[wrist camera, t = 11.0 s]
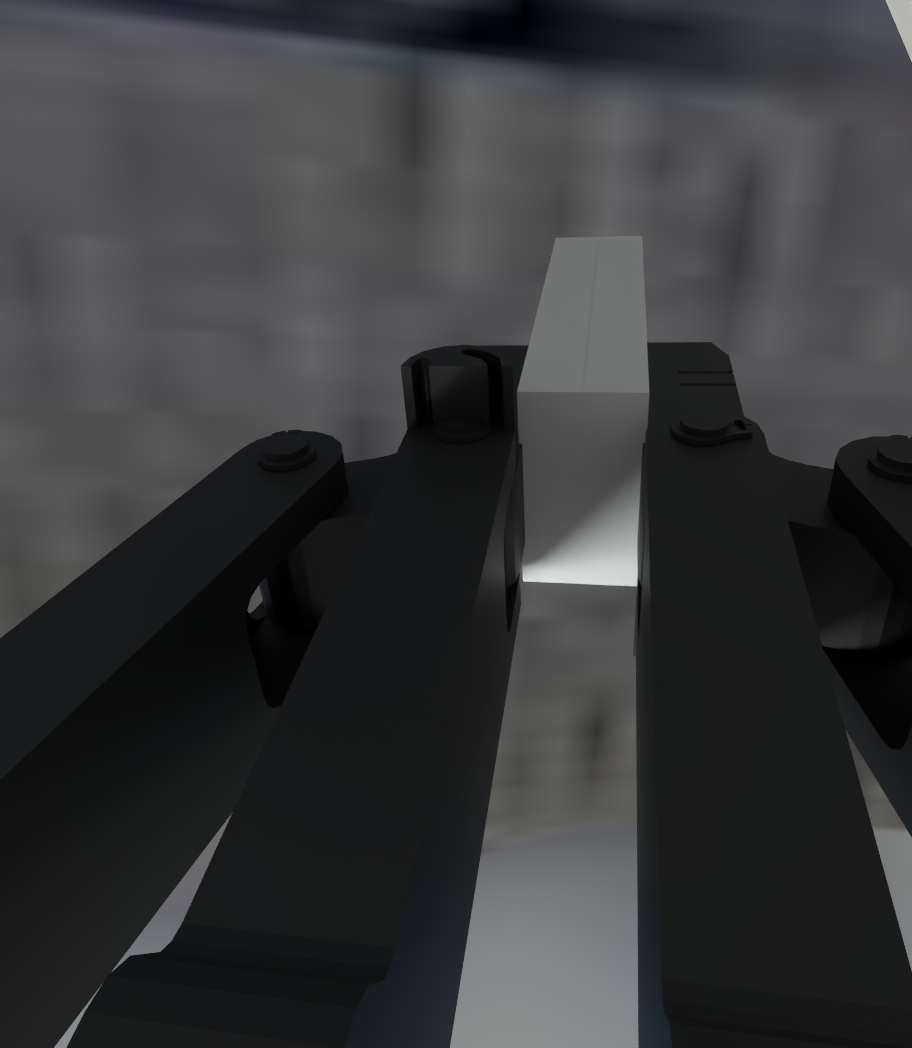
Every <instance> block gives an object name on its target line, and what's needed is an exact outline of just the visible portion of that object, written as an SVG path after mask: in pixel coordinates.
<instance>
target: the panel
mask: <svg viewBox="0 0 912 1048" xmlns="http://www.w3.org/2000/svg"><path fill="white" fill-rule="evenodd" d="M886 2H887V5H888V7H889V10H890V12H891V14H892V17H893V19H894V21H895V24H896V26H897V28H898V31H899V33H900V35H901V38H902V40H903V42H904V45H905V47H906V50H907V52H908V54H909V57H910V59H911V61H912V0H886Z"/></svg>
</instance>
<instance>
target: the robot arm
mask: <svg viewBox="0 0 912 1048" xmlns="http://www.w3.org/2000/svg"><path fill="white" fill-rule="evenodd" d="M401 373H402V382H403V391H404V400H405V410H406V419H407V428H408V429H407V432H406V434H405V436H404V438H403V440H402V443H401V445H400V447H399V449H398V451H397V453H395V454H392V455H389V456H384V457H379V458H375V459H369V460H362V461H355V462H348V463H344V458H343V452H342V446H341V443H340V442H339V441H337V440H336V439H335V438H334V437H332V436H330V435H326V434H323V433H319V432H310V431H301V430H288V432H286V431H281V432H276V433H273V434H272V435H271V436H268V437H265V438H262V439H259V440H256V441H254V442H253V443H251V444H249V445H247V446H246V447H244V448H242V449H241V450H239V451H238V452H237V453H236V454H234V455H233V456H232V457H231V458H229V459H228V460H227V461H225V462H224V463H223V464H222V465H220V466H219V467H218V468H217V469H215V470H214V471H213V472H211V473H210V474H209V475H208V476H206V477H205V478H204V479H203V480H201V481H200V482H199V483H197V484H196V485H195V486H194V487H192V488H191V489H190V490H189V491H187V492H186V493H185V494H183V495H182V496H181V497H180V498H178V499H177V500H176V501H175V502H173V503H172V504H171V505H169V506H168V507H167V508H166V509H164V510H163V511H162V512H161V513H159V514H158V515H157V516H155V517H154V518H153V519H152V520H150V521H149V522H148V523H147V524H145V525H144V526H143V527H141V528H140V529H139V530H138V531H136V532H135V533H134V534H133V535H131V536H130V537H129V538H127V539H126V540H125V541H124V542H122V543H121V544H120V545H119V546H117V547H116V548H115V549H113V550H112V551H111V552H110V553H108V554H107V555H106V556H105V557H103V558H102V559H101V560H99V561H98V562H97V563H96V564H94V565H93V566H92V567H91V568H89V569H88V570H87V571H85V572H84V573H83V574H82V575H80V576H79V577H78V578H77V579H75V580H74V581H73V582H71V583H70V584H69V585H68V586H66V587H65V588H64V589H63V590H61V591H60V592H59V593H57V594H56V595H55V596H54V597H52V598H51V599H50V600H49V601H47V602H46V603H45V604H43V605H42V606H41V607H40V608H38V609H37V610H36V611H35V612H33V613H32V614H31V615H29V616H28V617H27V618H26V619H24V620H23V621H22V622H21V623H19V624H18V625H17V626H15V627H14V628H13V629H12V630H10V631H9V632H8V633H7V634H5V635H4V636H3V637H1V638H0V1048H54V1047H55V1045H56V1044H57V1043H58V1041H59V1040H60V1039H61V1037H62V1036H63V1035H64V1033H65V1032H66V1031H67V1030H68V1028H69V1027H70V1026H71V1024H72V1023H73V1022H74V1020H75V1019H76V1018H77V1016H78V1015H79V1014H80V1012H81V1011H82V1010H83V1008H84V1007H85V1006H86V1005H87V1003H88V1002H89V1001H90V999H91V998H92V997H93V995H94V994H95V992H96V991H97V990H98V988H99V987H100V986H101V985H102V986H101V987H100V989H99V991H98V992H97V994H96V995H95V997H94V998H93V1000H92V1002H91V1003H90V1005H89V1006H88V1008H87V1009H86V1011H85V1013H84V1015H83V1016H82V1018H81V1021H80V1022H79V1024H78V1026H77V1028H76V1030H75V1032H74V1034H73V1036H72V1038H71V1040H70V1042H69V1044H68V1046H67V1048H450V1042H451V1036H452V1030H453V1024H454V1017H455V1011H456V1005H457V999H458V993H459V986H460V980H461V974H462V968H463V961H464V954H465V949H466V943H467V936H468V930H469V924H470V918H471V911H472V905H473V899H474V893H475V887H476V880H477V874H478V868H479V862H480V855H481V849H482V843H483V837H484V830H485V824H486V818H487V812H488V806H489V799H490V793H491V787H492V781H493V774H494V768H495V762H496V756H497V749H498V743H499V737H500V731H501V724H502V718H503V712H504V706H505V700H506V693H507V687H508V681H509V675H510V668H511V662H512V656H513V650H514V643H515V637H516V631H517V625H518V618H519V612H520V606H521V596H520V568H521V562H522V565H523V581H530V582H552V583H575V584H597V585H620V586H637V596H636V613H635V631H634V649H633V656H636V730H637V877H638V878H637V879H638V880H637V882H638V884H637V886H638V1025H639V1026H638V1033H639V1034H638V1035H639V1036H638V1037H639V1038H638V1039H639V1040H638V1041H639V1048H912V971H911V967H910V964H909V960H908V957H907V953H906V949H905V946H904V942H903V938H902V935H901V931H900V927H899V924H898V920H897V917H896V913H895V909H894V906H893V902H892V898H891V895H890V891H889V887H888V884H887V880H886V876H885V873H884V869H883V865H882V862H881V859H880V855H879V851H878V847H877V844H876V840H875V837H874V833H873V829H872V825H871V822H870V818H869V814H868V811H867V807H866V804H865V800H864V796H863V793H862V789H861V785H860V782H859V778H858V774H857V771H856V767H855V764H854V760H853V756H852V753H851V749H850V745H849V742H848V738H847V734H846V731H847V732H848V734H849V736H850V737H851V739H852V741H853V742H854V744H855V745H856V747H857V749H858V750H859V752H860V754H861V755H862V757H863V759H864V760H865V762H866V763H867V765H868V767H869V768H870V770H871V772H872V773H873V775H874V777H875V778H876V780H877V781H878V783H879V785H880V786H881V788H882V790H883V791H884V793H885V794H886V796H887V798H888V799H889V801H890V803H891V804H892V806H893V808H894V809H895V811H896V812H897V814H898V816H899V817H900V819H901V821H902V822H903V824H904V825H905V827H906V829H907V830H908V832H909V834H910V835H911V837H912V437H911V439H910V438H908V436H902V435H892V436H890V437H869V438H864V439H859V440H855V441H852V442H850V443H849V444H847V445H845V446H843V447H842V448H840V450H839V452H838V454H837V457H836V460H835V465H834V469H828V468H823V467H817V466H811V465H806V464H802V463H798V462H793V461H789V460H786V459H783V458H781V457H778V456H775V455H773V454H771V453H769V450H768V447H767V443H766V439H765V436H764V433H763V432H762V430H761V429H760V427H759V426H758V425H757V423H755V422H753V421H751V420H750V419H748V418H746V417H744V415H743V411H742V407H741V403H740V399H739V395H738V391H737V387H736V382H735V378H734V374H733V370H732V366H731V362H730V358H729V355H727V354H726V353H725V352H723V351H722V350H721V349H719V348H718V347H717V346H715V345H714V344H713V343H711V342H682V343H647V332H646V311H645V290H644V269H643V248H642V236H615V237H573V238H556V240H555V244H554V248H553V252H552V256H551V260H550V264H549V267H548V271H547V275H546V279H545V283H544V287H543V291H542V295H541V299H540V303H539V307H538V311H537V315H536V319H535V323H534V327H533V331H532V335H531V339H530V342H529V346H472V345H458V346H444V347H440V348H435V349H431V350H427V351H423V352H421V353H419V354H417V355H415V356H412V357H410V358H409V359H408V360H407V361H406V362H405V363H403V364H402V365H401ZM258 585H259V587H260V591H261V595H262V599H263V601H262V603H261V604H260V605H259V606H258V607H257V608H256V609H255V610H254V611H253V612H251V613H250V614H249V613H248V611H247V610H248V606H249V602H250V599H251V596H252V595H253V593H254V592H255V590H256V589H257V587H258ZM845 729H846V731H845ZM232 812H233V813H232ZM231 813H232V815H231ZM230 815H231V817H230V819H229V822H228V824H227V826H226V829H225V830H224V833H223V835H222V837H221V839H220V841H219V844H218V846H217V848H216V850H215V853H214V855H213V857H212V859H211V861H210V863H209V866H208V868H207V870H206V872H205V875H204V877H203V879H202V881H201V883H200V885H199V888H198V890H197V892H196V894H195V896H194V898H193V901H192V903H191V905H190V907H189V909H188V912H187V914H186V916H185V918H184V921H183V922H182V925H181V926H180V928H179V929H178V931H177V933H176V935H175V936H174V938H173V940H172V941H171V942H170V943H169V944H168V945H167V946H166V947H165V948H164V949H163V950H162V951H161V952H157V953H149V954H142V955H133V956H130V957H128V958H127V959H126V960H125V961H124V962H123V963H122V964H121V965H119V966H118V967H117V968H116V969H115V970H114V971H113V972H112V970H113V969H114V968H115V966H116V965H117V964H118V962H119V961H120V960H121V958H122V957H123V956H124V954H125V953H126V952H127V950H128V949H129V948H130V947H131V945H132V944H133V943H134V941H135V940H136V939H137V937H138V936H139V935H140V933H141V932H142V931H143V929H144V928H145V927H146V925H147V924H148V923H149V922H150V920H151V919H152V918H153V916H154V915H155V914H156V912H157V911H158V910H159V908H160V907H161V906H162V904H163V903H164V902H165V900H166V899H167V898H168V896H169V895H170V894H171V893H172V891H173V890H174V889H175V887H176V886H177V885H178V883H179V882H180V881H181V879H182V878H183V877H184V875H185V874H186V873H187V871H188V870H189V869H190V868H191V866H192V865H193V864H194V862H195V861H196V859H197V858H198V857H199V856H200V854H201V853H202V852H203V850H204V849H205V848H206V846H207V845H208V844H209V842H210V841H211V840H212V839H213V837H214V836H215V834H216V833H217V832H218V831H219V829H220V828H221V827H222V825H223V824H224V823H225V821H226V820H227V819H228V817H229V816H230ZM103 982H104V983H103ZM102 983H103V984H102Z"/></svg>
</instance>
